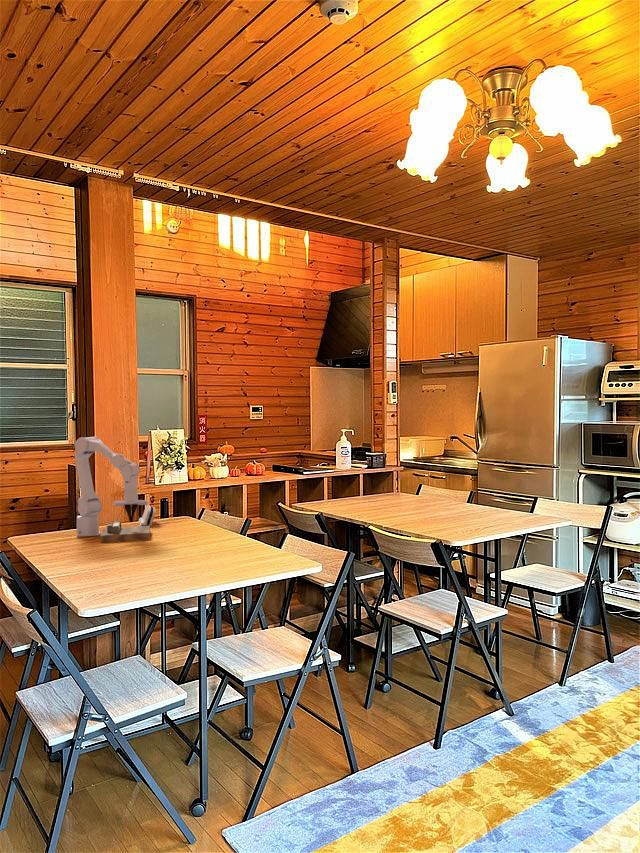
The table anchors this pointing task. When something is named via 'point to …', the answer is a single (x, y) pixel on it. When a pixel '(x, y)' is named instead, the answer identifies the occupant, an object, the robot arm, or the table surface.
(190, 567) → the table surface
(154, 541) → the table surface
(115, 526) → the folding leg
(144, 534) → the grey flat base
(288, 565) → the table surface
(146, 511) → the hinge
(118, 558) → the table surface
